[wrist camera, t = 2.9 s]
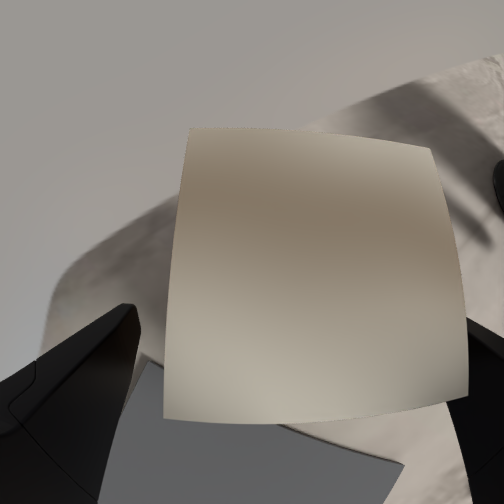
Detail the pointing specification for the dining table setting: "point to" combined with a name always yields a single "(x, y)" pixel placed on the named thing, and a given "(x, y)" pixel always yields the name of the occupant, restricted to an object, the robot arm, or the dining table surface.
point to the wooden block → (310, 281)
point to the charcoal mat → (230, 461)
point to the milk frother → (499, 182)
